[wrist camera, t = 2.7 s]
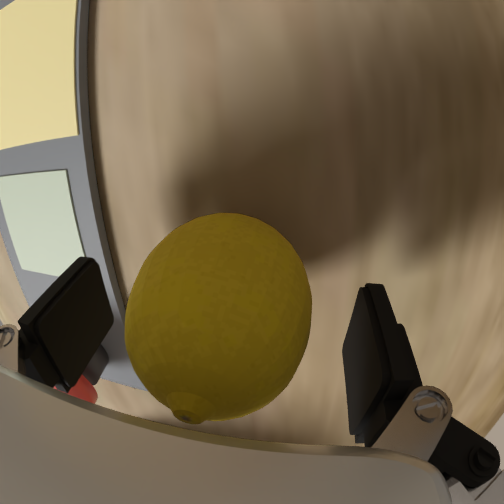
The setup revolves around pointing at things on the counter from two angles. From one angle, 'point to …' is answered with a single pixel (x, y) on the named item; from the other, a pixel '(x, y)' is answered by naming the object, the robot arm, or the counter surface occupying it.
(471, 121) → the counter surface
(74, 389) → the button
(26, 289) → the board
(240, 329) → the lemon
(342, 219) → the counter surface
